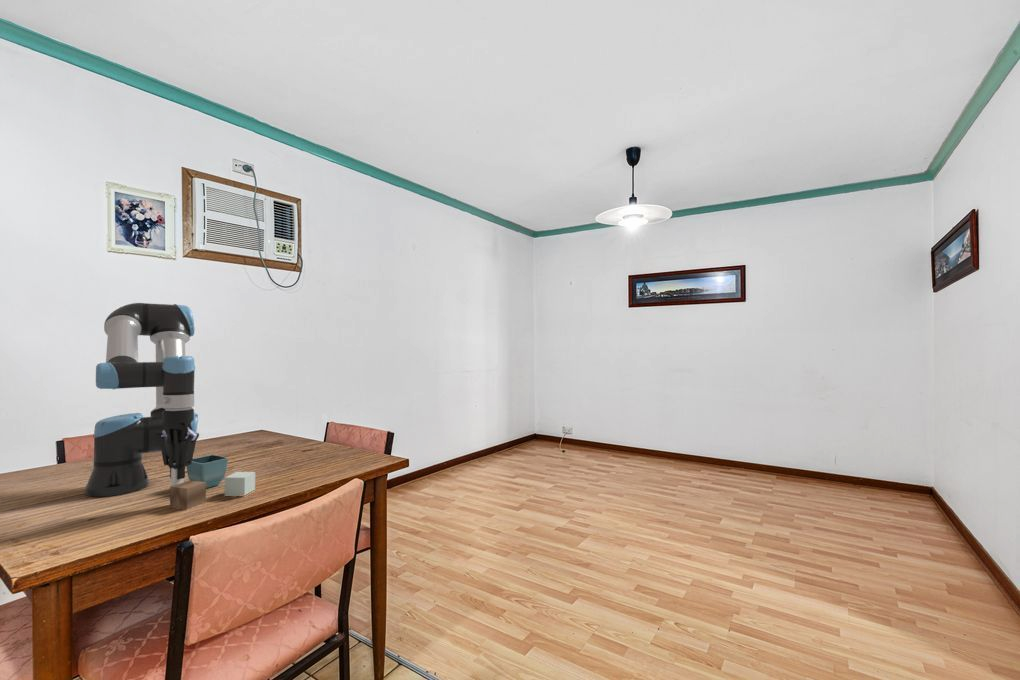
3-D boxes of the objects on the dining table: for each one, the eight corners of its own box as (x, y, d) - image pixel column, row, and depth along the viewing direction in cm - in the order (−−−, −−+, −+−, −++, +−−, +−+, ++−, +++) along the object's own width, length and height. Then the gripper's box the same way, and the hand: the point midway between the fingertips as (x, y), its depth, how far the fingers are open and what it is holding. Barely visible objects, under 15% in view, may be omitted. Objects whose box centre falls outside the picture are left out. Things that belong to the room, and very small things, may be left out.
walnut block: (170, 486, 130) (187, 488, 128) (189, 480, 135) (206, 482, 134) (169, 507, 130) (186, 509, 128) (189, 500, 135) (205, 502, 134)
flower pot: (228, 484, 151) (229, 457, 151) (201, 492, 143) (201, 463, 143) (212, 480, 154) (212, 454, 154) (184, 488, 146) (184, 460, 146)
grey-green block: (224, 497, 139) (224, 477, 139) (236, 490, 145) (236, 471, 145) (244, 497, 139) (244, 477, 139) (255, 490, 145) (255, 471, 145)
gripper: (148, 409, 131) (146, 491, 130) (184, 411, 127) (182, 495, 127) (173, 406, 138) (172, 484, 138) (207, 407, 135) (206, 487, 134)
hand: (177, 489), depth 132 cm, fingers closed
